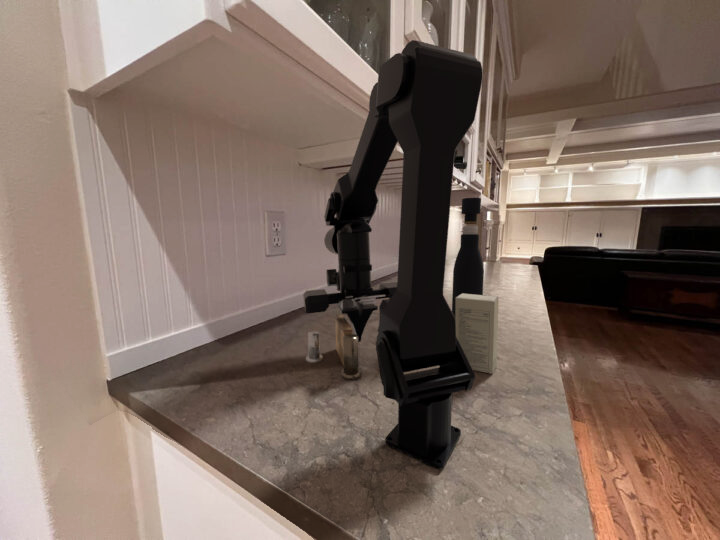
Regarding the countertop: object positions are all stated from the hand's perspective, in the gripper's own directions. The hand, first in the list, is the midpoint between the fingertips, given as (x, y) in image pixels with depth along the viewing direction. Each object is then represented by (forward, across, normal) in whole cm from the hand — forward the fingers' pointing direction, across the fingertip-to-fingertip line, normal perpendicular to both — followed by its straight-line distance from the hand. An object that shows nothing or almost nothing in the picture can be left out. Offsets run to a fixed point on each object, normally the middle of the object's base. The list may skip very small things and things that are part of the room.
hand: (358, 341), depth 54 cm
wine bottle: (+4, -27, -6) cm, 28 cm away
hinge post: (+2, +3, +7) cm, 8 cm away
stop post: (+2, +8, 0) cm, 9 cm away
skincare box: (+4, -18, +9) cm, 21 cm away
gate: (+2, +3, +1) cm, 4 cm away
